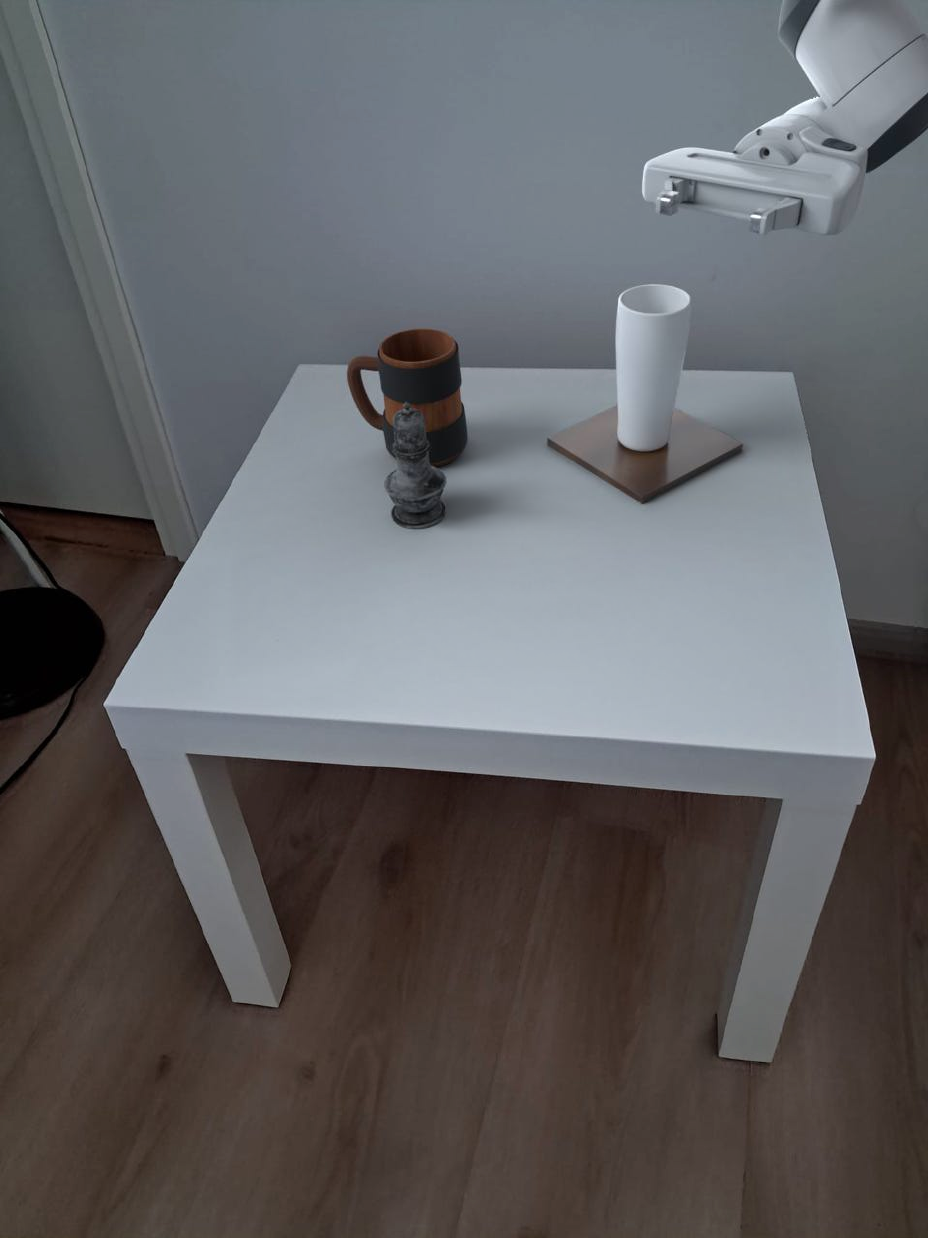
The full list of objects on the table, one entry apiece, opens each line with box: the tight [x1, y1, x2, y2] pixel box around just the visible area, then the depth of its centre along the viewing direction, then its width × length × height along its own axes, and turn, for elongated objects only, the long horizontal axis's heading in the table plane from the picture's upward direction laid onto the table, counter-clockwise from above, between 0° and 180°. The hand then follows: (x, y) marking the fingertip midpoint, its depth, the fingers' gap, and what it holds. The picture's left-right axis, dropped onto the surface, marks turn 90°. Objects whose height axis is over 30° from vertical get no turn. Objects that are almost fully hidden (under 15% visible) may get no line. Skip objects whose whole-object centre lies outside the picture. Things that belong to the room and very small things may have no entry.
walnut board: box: [546, 404, 744, 505], centre depth 96 cm, size 14×14×1 cm
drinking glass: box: [614, 283, 692, 452], centre depth 91 cm, size 7×7×15 cm
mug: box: [346, 328, 469, 468], centre depth 95 cm, size 9×12×12 cm
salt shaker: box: [383, 402, 447, 530], centre depth 86 cm, size 6×6×12 cm
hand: (708, 215), depth 84 cm, fingers open, 8 cm apart
